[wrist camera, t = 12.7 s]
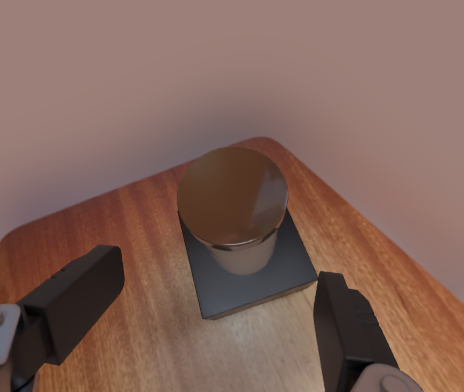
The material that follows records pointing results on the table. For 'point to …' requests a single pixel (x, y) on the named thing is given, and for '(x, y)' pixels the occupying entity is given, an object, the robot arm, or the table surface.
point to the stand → (253, 285)
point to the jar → (234, 206)
